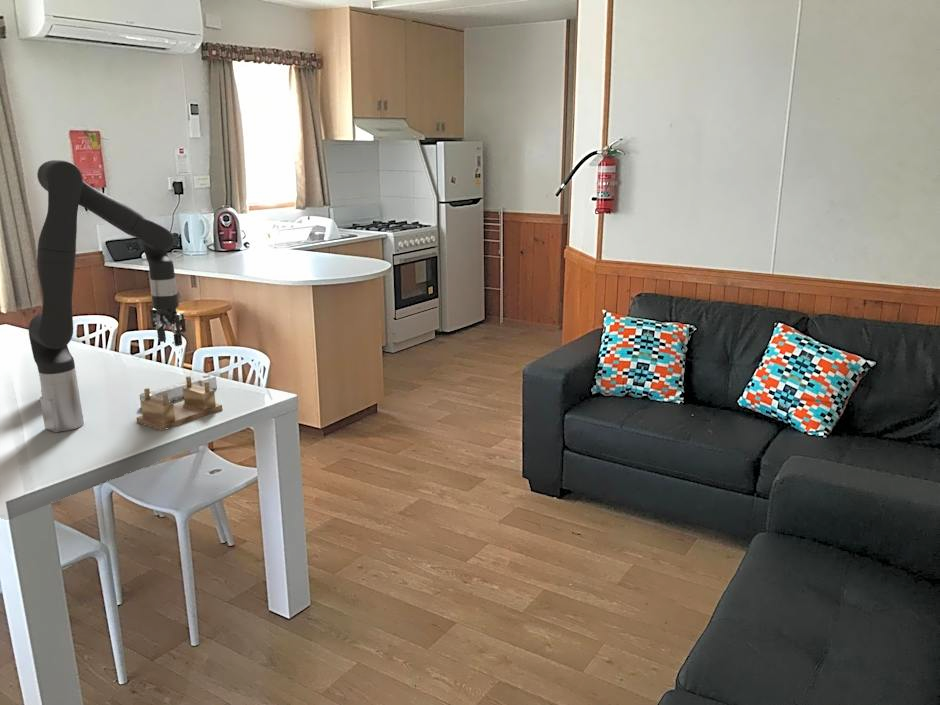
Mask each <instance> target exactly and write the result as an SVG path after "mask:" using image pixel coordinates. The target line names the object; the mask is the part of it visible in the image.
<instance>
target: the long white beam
mask: <svg viewBox="0 0 940 705" xmlns="http://www.w3.org/2000/svg"><path fill="white" fill-rule="evenodd" d="M204 382H209V386H210V389H212V390H215V389H217V387H218V386H217V385H218V384H217V377H216V376H215V375H211V376H210V374H209V373H206V374H202V375H198V376H195V377H192V378H191V383H192V385H193V384H195V385H198V386H202V387H205V386H204ZM183 387H187V382H186V380H185V381H182V382H180V383H176V384H172V385H169V386H165V387H161V388H158V389H156V390H152V391H150V398H151V397H156V398H159V399H162V400H163V397H162V395H164V394H167V395H168V402H169V401H171V402H173V400H174V401H177V400H180V398H181V399H184V398H183V397H184V394H183ZM144 399H145V392H143V393H142V392H141V394H139V401H140V402H139V403H140V404H141V400H144ZM176 399H177V400H176ZM140 408H141V409H142V406H141V405H140Z"/></svg>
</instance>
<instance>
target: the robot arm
mask: <svg viewBox="0 0 940 705" xmlns="http://www.w3.org/2000/svg"><path fill="white" fill-rule="evenodd" d="M36 175H37V180H38V182H39V185H40V186H41V187H42V188H43V189H44V190H45V191H46V192H47V195H48V196H47V202H48V204H47V205H48V206H47V213H46V217H45V220H44V223H43V226H42V228H41V231H40V235H39V237H38V243H37V250H36V251H37V254H36V255H37V256H36V268H37V274H38V275H37V276H38V279H39V282H40V287H41V292H42V293H41V294H42V310H41V312H40V313H38V314H36V315H34V316H33V317H32V319H31V320H30V322H29V325H28V337H29V338H28V339H29V342H30V343H29V344H30V346H31V348H30V349H31V352H32V357H33V360H34V362H35V364H36V366H37V367H36V368H37V371H38V376H39V382H40V390H41V389H42V392H41V396H40V397H39V400H40V407H41V412H42V418H43V423H44V424H43V425H44V428H45V429H46V430H49V431H51V432H53V433H60V432H68V431H71V430H75V429H77V428H80V427H81V426H83V425H84V424H85V421H84V414H83V408H82V403H81V396H80V389H79V384H78V377H77V370H76V365H75V364H76V363H75V359H74V357H73V356H72V354H71V352H70V350H69V347H68V345H69V343H70V342H71V340H72V339H73V334H74V320H73V318H74V317H73V291H74V279H75V270H76V268H75V267H76V255H77V231H78V230H77V229H78V228H77V227H78V225H77V224H78V223H77V222H78V212H79V211H78V210H79V206H81V207H82V208H85V209H86V210H88V211H90V212H91V213H93V214H95V215H96V216H98V218H101V219H102V220H104V222H105V221H106V222H107V223H109V225H111V226H113V227H115V228H117V229H118V230H120V231H121V232H123V233H125V234H126V235H128V236H131V237H134V238H136V239H139V240H140V241H142V242H141V244H142V248H143V251H144V256H145V257H146V260H147V263H148V270H149V276H150V277H149V280H150V294H151V300H152V301H151V302H152V303H151V304H152V308H151V309H150V310H149V311H150V317H151V318H150V319H151V327H152V328H155V331H156V332H157V340H158V342H159V343H162V342H166V341H167V338H166V329H165V328H166V326H167V327H168V328H169V330H171V331H172V333H173V342H174V343H173V344H174V346H175V347H180V346H182V345H183V337H182V334H183V333H185V332H187V329H186V322H185V315H184V313H183V312H181V313H178V312H177V309H178V308H179V307H180V306H179V305H180V304H179V293H178V285H177V281H176V275H175V267H174V262H173V260H172V259H170V257H169V256H168V251H170V250H171V249H172V248H173V247H174V246H175V237H174V235H173V233H172V232H171V231H170V230H169V229H167V228H166V227H164V226H162V225H161V224H159V223H157V222H155V221H152V220H150V218H149V219H148V218H146V217H145V216H144V215H143V214H141V213H139V212H138V211H136V210H134V209H133V208H132V207H131V206H129V205H127V204H126V203H123V202H121V201H120V200H118V199H116V198H115V197H114V198H113V197H112V196H109V195H108V194H106V193H104V192H102V191H100V190H98V189H96V188H95V187H93V186H91V185H90V184H88V183H87V182H85V181H84V179H83V174H82V172H81V170H80V168H79V167H78V166H77V165H76V164H74V163H73V162H71V161H68V160H59V159H58V160H55V159H54V160H49V161H45V162H44V163H42V164H41V165H40V166H39V167H38V169H37V174H36ZM42 395H43V396H42Z"/></svg>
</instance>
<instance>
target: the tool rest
mask: <svg viewBox="0 0 940 705" xmlns="http://www.w3.org/2000/svg"><path fill="white" fill-rule="evenodd" d="M191 380H192V377H191V376H189V375H188V376H186V377H185V381H186V382H187V387H183V394H184V398H183V400H184V401H183V402H180V403H177V404H174V403H173V402H172V401H171V402H168V395H167V394H164V395H162V397H163V400H162V399H159V398H156V397H151V398H150V392H151V391H150V388H144V389H143V391H144V392H143V393H145V399H144V400H141V403H140V407H141V406H142V408H141V411H142V415H139V416H136V417H135V418H136V423H138V422H140V423H139V424H141V423H142V424H141V425H143V424H145V425H144V426H146V425H147V427H149V426H150V427H149V428H152V427H153V428H152V429H154V428H155V429H154V430H157V429H158V431H160V430H162V431H164V429H165V430H167V429H166V428H168V429H171V428H174V427H176V425H177V426H180V425H182V424H185V423H188V422H192V421H194V420H196V419H200V418H203V417H204V416H208V415H211V414H214V413H216V411H217V412H220V411H222V410H223V405H222V404H221V403H220V404H219V403H217V402H216V396H215V395H216V394H215V393H216V392H215V389H213V390H212V389H210V386H209V382H204V386H205V387H202V386H198V385H195V384H193V385H192V383H191ZM219 410H220V411H219ZM199 417H200V418H199ZM179 424H180V425H179ZM173 426H174V427H173ZM170 427H171V428H170Z"/></svg>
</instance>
